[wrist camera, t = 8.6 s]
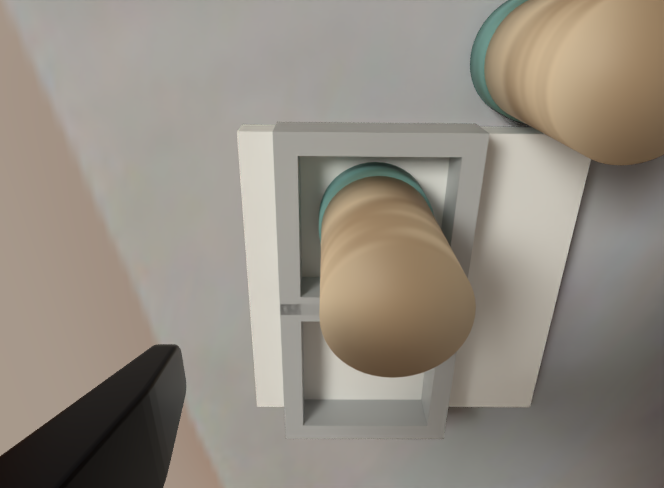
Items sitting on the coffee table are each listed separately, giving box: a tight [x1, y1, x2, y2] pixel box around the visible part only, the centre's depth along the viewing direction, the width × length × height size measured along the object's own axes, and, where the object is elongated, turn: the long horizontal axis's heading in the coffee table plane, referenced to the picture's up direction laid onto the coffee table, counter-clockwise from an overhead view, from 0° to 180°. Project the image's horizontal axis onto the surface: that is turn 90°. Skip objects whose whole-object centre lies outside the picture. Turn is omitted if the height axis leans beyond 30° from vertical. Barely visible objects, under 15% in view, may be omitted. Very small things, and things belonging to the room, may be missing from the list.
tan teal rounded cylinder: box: [319, 162, 476, 378], centre depth 16 cm, size 4×4×7 cm
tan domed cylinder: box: [470, 0, 664, 165], centre depth 14 cm, size 4×4×7 cm
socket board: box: [237, 122, 591, 439], centre depth 20 cm, size 13×14×3 cm
